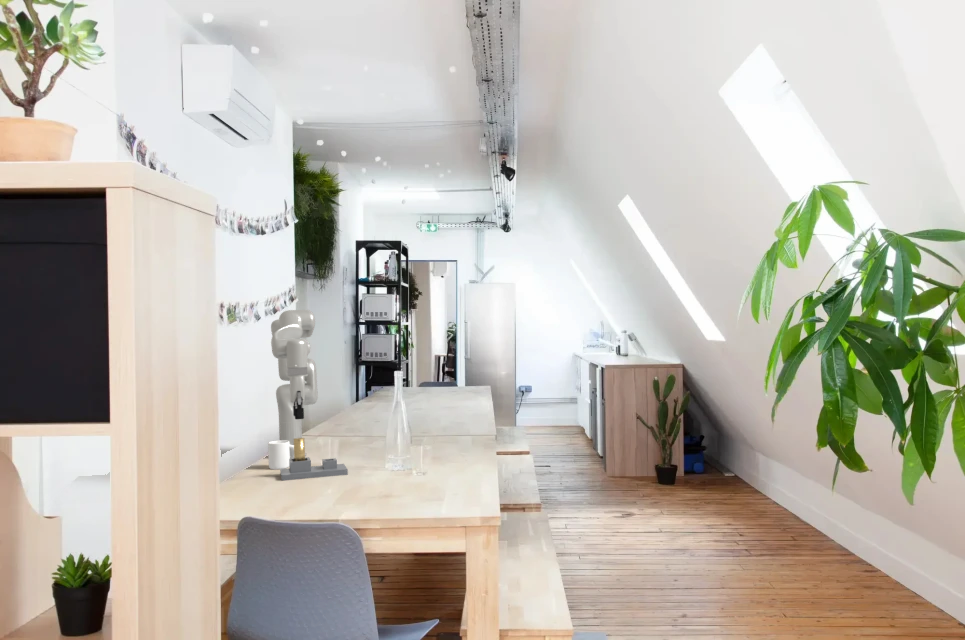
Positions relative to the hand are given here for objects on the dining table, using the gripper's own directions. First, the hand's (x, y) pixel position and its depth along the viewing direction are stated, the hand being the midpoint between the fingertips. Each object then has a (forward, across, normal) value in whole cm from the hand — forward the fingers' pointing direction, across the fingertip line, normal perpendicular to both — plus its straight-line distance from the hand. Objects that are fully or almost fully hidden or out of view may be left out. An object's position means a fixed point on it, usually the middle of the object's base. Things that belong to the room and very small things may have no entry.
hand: (298, 417), depth 275 cm
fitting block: (+22, 0, +5) cm, 23 cm away
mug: (+22, -20, -5) cm, 30 cm away
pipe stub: (+20, 0, 0) cm, 20 cm away
